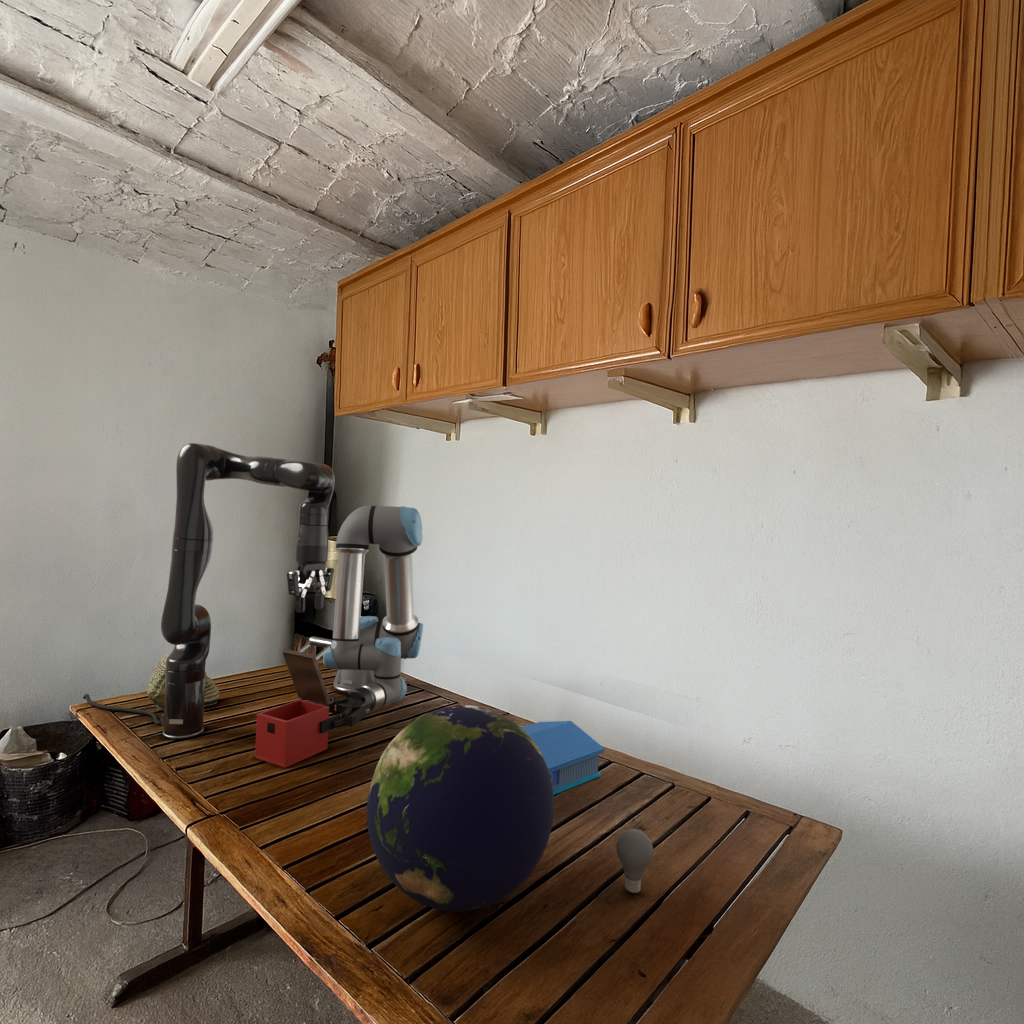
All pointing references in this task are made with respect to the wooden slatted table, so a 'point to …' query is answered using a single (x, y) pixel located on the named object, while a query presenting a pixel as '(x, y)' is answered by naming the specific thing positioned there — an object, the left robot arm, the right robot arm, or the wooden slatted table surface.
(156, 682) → the fossil
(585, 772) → the model building
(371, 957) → the wooden slatted table surface
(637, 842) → the light bulb
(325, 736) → the chest
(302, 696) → the lid
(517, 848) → the globe
